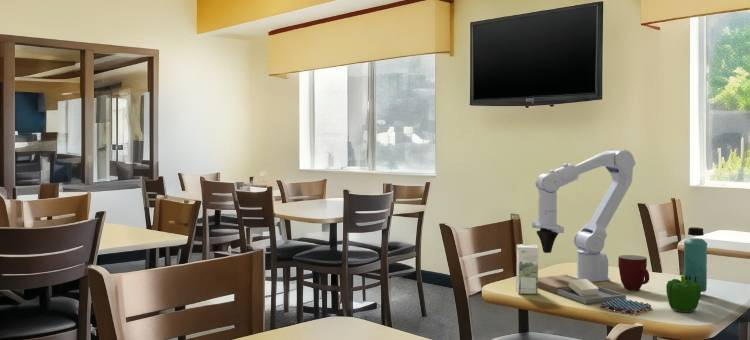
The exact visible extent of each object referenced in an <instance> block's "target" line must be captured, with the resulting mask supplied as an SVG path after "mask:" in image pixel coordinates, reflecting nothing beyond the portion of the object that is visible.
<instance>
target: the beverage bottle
mask: <svg viewBox="0 0 750 340" xmlns="http://www.w3.org/2000/svg"><path fill="white" fill-rule="evenodd" d="M687 235H688V236H696V237H691V238H687V239H686V240H685V241H683V245H684V246H683V247H684V248H683V255H682V256H683V257H682V258H683V259H682V261H683V264H682V265H683V267H682V268H683V270H682V272H683V275H685V281H686V280H691V281H693V282H698V283H699V284H700V286H701V293H705V292H706V291H707V290H708V289H707V288H708V287H707V286H708V285H707V284H708V268H707V264H708V261H707V260H708V242H706V240H704V239H703V238H697V236H699V237H701V236H704V228H702V227H698V226H697V227H692V226H691V227H688V232H687Z"/></svg>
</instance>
